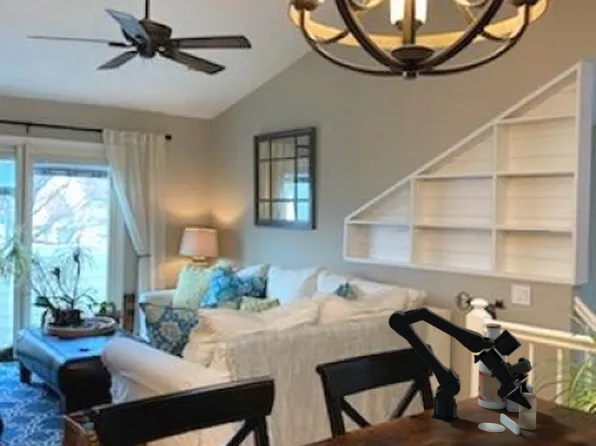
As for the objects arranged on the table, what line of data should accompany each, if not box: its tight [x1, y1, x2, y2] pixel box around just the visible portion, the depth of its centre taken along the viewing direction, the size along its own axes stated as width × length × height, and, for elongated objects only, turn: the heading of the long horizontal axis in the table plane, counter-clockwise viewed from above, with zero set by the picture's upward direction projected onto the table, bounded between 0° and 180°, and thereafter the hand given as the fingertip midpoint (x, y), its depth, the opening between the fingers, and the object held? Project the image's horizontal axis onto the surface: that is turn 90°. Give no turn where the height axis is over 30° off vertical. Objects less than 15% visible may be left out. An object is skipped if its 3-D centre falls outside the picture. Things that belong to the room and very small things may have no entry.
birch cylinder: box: [518, 393, 538, 431], centre depth 205 cm, size 5×5×10 cm
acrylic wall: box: [499, 413, 520, 435], centre depth 205 cm, size 12×1×2 cm, turn 5°
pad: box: [477, 422, 506, 433], centre depth 205 cm, size 8×8×1 cm
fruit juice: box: [477, 322, 508, 410], centre depth 228 cm, size 9×9×28 cm
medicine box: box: [505, 383, 534, 413], centre depth 223 cm, size 8×4×9 cm, turn 84°
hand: (532, 406), depth 205 cm, fingers closed on birch cylinder, 5 cm apart
